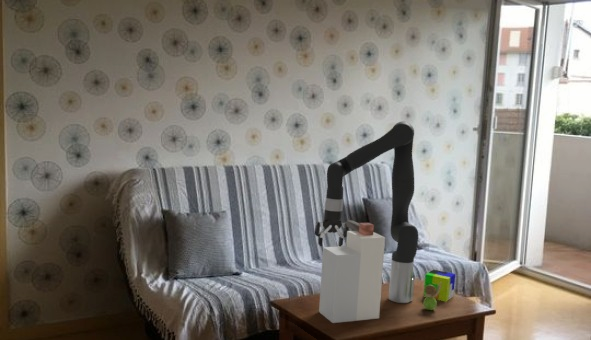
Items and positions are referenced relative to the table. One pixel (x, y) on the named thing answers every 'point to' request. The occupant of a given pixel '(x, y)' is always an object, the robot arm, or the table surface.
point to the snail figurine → (431, 296)
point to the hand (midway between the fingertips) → (330, 246)
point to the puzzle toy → (446, 284)
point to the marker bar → (361, 227)
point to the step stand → (352, 278)
